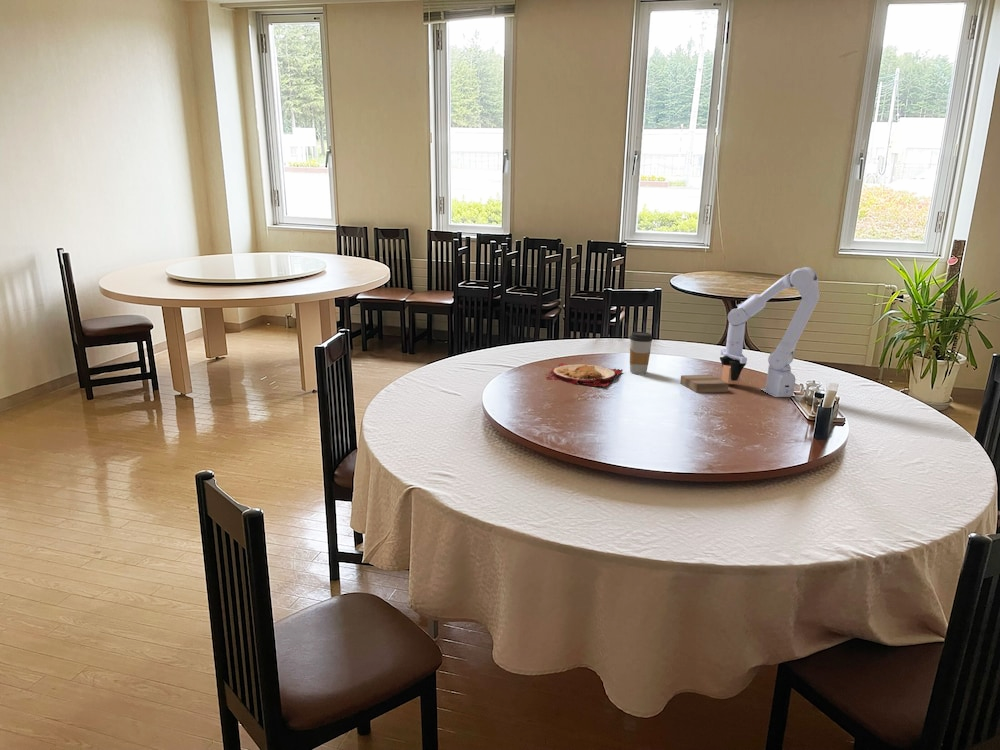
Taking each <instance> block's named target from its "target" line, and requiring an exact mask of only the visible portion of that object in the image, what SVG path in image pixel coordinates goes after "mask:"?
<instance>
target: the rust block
mask: <svg viewBox="0 0 1000 750" xmlns="http://www.w3.org/2000/svg"><path fill="white" fill-rule="evenodd" d="M740 379H741V374H740V375H739V378H738V380H736V381H732V380H731V366H730V365H723V366H722V373H721V380H723V381H725V382H727V383H729V385H739V384H740Z"/></svg>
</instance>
